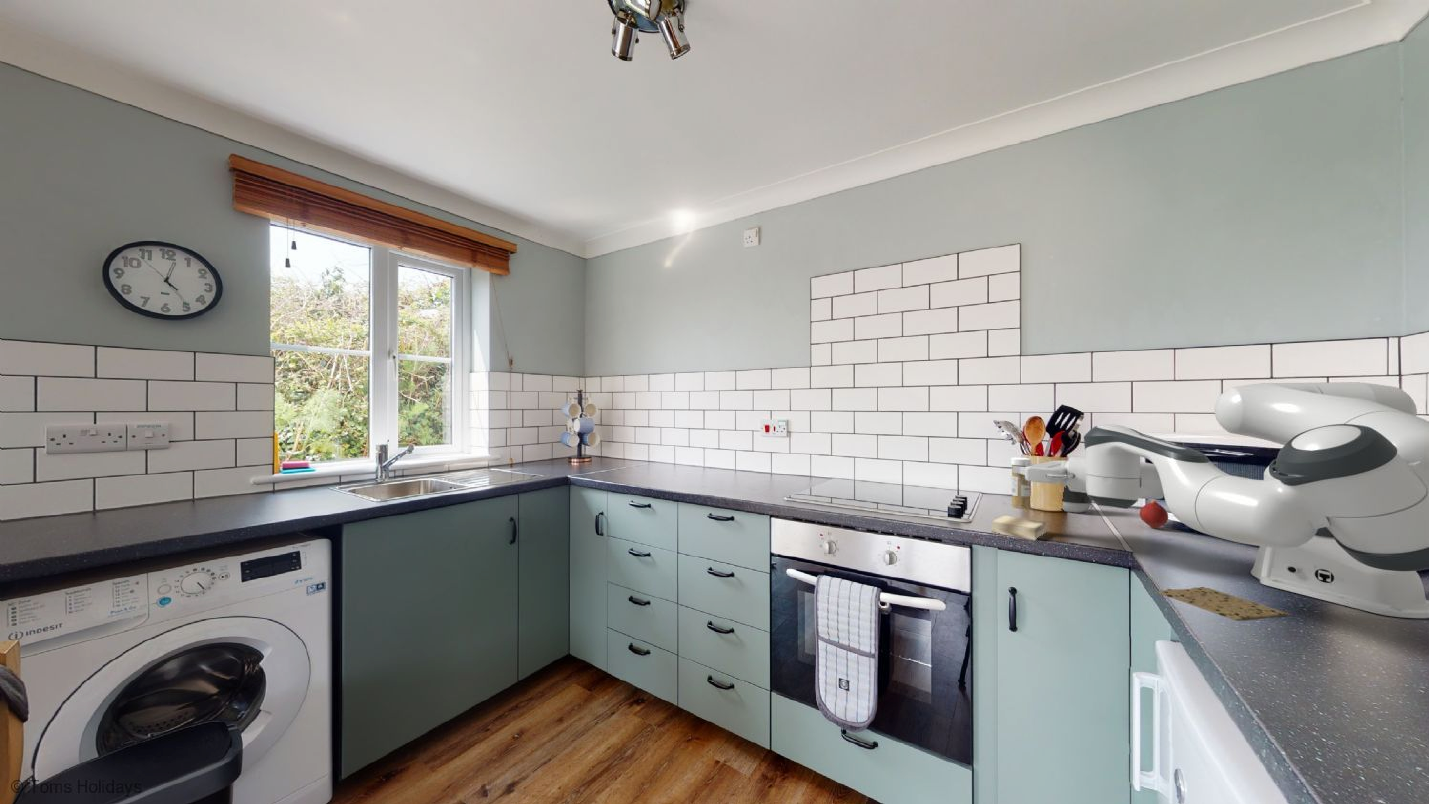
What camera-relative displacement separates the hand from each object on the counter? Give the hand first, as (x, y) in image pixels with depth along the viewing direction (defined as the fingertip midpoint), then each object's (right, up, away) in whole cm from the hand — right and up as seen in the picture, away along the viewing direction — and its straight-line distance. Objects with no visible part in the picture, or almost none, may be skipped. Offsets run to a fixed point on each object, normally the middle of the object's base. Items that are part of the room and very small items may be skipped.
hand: (1017, 468), depth 132 cm
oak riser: (-1, -17, -2) cm, 17 cm away
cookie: (+6, -18, -48) cm, 51 cm away
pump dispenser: (+33, -17, +25) cm, 45 cm away
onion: (+40, -18, +4) cm, 44 cm away
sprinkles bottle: (+1, -11, -1) cm, 11 cm away
